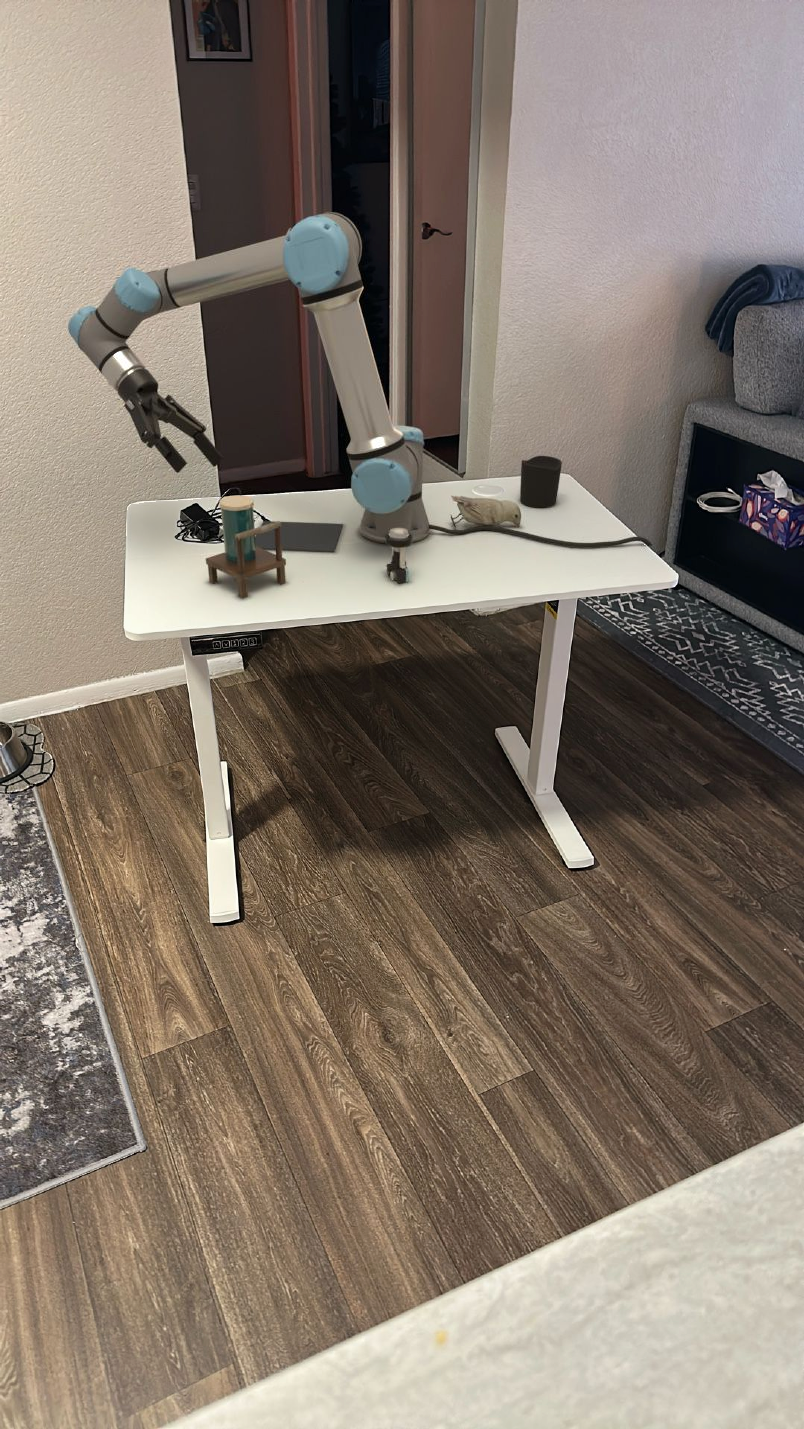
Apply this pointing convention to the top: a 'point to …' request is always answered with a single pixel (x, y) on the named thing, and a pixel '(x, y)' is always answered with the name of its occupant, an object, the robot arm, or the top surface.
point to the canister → (238, 526)
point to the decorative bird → (487, 511)
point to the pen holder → (540, 481)
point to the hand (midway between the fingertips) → (201, 465)
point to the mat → (301, 537)
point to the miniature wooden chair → (251, 568)
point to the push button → (398, 553)
